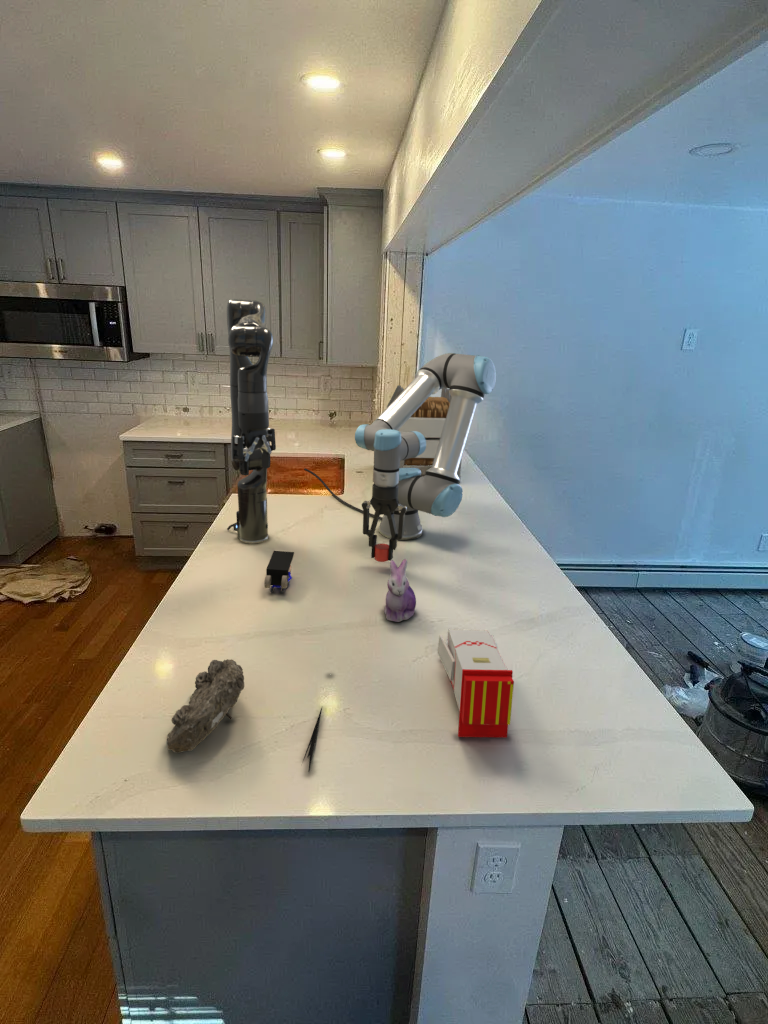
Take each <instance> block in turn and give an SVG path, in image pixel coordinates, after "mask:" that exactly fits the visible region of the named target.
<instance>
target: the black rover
mask: <svg viewBox="0 0 768 1024" xmlns="http://www.w3.org/2000/svg"><path fill="white" fill-rule="evenodd" d="M294 557H295V551H284V550H273V551H272V554H271V556H270V559H269V561H268V564H267V566H266V569H265V571H266V574H265V577H264V588H265V589H270V590H269V592H270V593H274V590H275V588H277V589H280V593H281V594H283V593H284V591H285V589H287V587H288V586H289V582H290V581H291V580H292V579H293V577H292V575H291V574H292V573H291V572H292V565H291V564H292V563H293V562H292V561H293V558H294Z"/></svg>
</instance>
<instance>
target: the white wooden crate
mask: <svg viewBox="0 0 768 1024" xmlns="http://www.w3.org/2000/svg"><path fill="white" fill-rule="evenodd" d="M404 389H405V388H403V387H402V385H399V384H398V385H397V386H396V388H395V390H394V392H393V394H392V395H391V398H390V400H389V402H388V404H387V405H386V408H387V407H388V406H389V405H390V404H391V403H392V402H393V401H394V400H395V399H396V398H397V397H398V396H399V395H400V394H401V393H402V392H403V390H404ZM440 393H441V394H440V396H429V397H428V398H427V399H426V400H425V402H424V403H423V404H422V405H421V406H420V407H419V408H418V409H417V410H416V411H415V412H414V414H413V415H412V416H411V417H410V418H409V419H408V420H407V421H406V422H405V423H404V424H403V426H402V427H401V428H400V429H399V430H398V431H401V432H410V431H413V432H414V431H417V432H420V433H421V434H422V435H423V436H424V437H425V439H426V449H425V451H424V452H423V453H422V454H421V455H418V456H417V457H414V458H409V459H405V460H402V461H400V466H399V468H405V466H406V467H407V466H411V467H412V466H413V467H415V466H416V467H417V466H418V467H431V466H432V465H433V461H434V458H435V454H436V451H437V447H438V444H439V440H440V437H441V434H442V430H443V427H444V423H445V420H446V416H447V413H448V409H449V406H450V402H451V399H452V397H451V395H450V393H449V388H443V389H441V392H440ZM462 461H463V460H462V458H461V461H460V465H459V468H458V472H457V475H458V477H459V479H460V481H459V483H461V472H462Z"/></svg>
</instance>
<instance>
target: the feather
mask: <svg viewBox="0 0 768 1024" xmlns="http://www.w3.org/2000/svg"><path fill="white" fill-rule="evenodd" d="M329 675H330V676H331V675H332V674H331V673H330V674H329ZM322 710H323V707H321V708H320V710H319V713H318V716H317V719H316V723H315V725H314V728H313V731H312V733H311V737H310V739H309V742H308V745H307V748H306V751H305V754H304V757H303V760H302V763H301V767H302V765H303V763H304V761H305V758H308V759H309V760H308V762H307V763H308V764H307V766H308V771H310V770H311V766H312V765H311V764H312V760H313V757H315V756H314V755H315V751H316V749H315V746H317V739H318V733H319V729H320V722H321V717H322V712H323V711H322ZM313 754H314V755H313ZM306 755H307V757H306Z"/></svg>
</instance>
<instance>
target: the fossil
mask: <svg viewBox="0 0 768 1024" xmlns="http://www.w3.org/2000/svg"><path fill="white" fill-rule="evenodd" d="M243 670H244V669H243V667H242V665H240V664H237V662H236V661H235V660H234V659H232V658H231V659H227V658H226V659H224V660H223V661H222V660H217V659H212V660H211V661H210V663H209V665H208V666H207V671H201V672H199V673H198V674H197V675H196V676H195V680H194V684H195V685H194V687H195V689H194V690H193V693H192V694H191V697H190V698H189V700H188V704H184V705H182V706H181V707H180V709H177V710H176V711H175V713H174V715H173V716H172V718H171V723H172V724H173V727H172V730H171V731H170V732H168V734H167V738H166V741H167V742H166V745H167V749H168V750H169V751H173V752H174V753H176V754H178V753H182V752H188V751H189V752H192V751H193V750H195V748H196V747H197V746H199V744H200V743H201V742H203V741H204V740H205V739H206V738H207V737H208V736H209V735H210V734H211V733H212V732H214V730H215V729H217V727H218V726H219V724H220V722H221V721H222V720H223V719H224V718H225V716H226V717H227V719H229V720H233V717H232V715H230V714H229V710H230V709H231V708H234V706H235V704H236V703H237V702H238V699H239V697H240V695H241V693H242V691H243V690H245V689H244V688H245V675H244V671H243Z"/></svg>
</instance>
